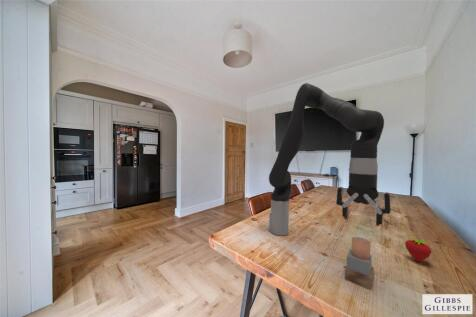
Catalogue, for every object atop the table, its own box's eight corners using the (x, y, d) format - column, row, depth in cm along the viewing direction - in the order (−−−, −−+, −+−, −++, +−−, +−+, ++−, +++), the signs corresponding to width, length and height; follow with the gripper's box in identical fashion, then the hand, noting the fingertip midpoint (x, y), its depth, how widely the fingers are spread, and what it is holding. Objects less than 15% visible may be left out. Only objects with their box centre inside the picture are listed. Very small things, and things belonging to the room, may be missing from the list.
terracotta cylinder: (356, 259, 56) (357, 243, 56) (348, 251, 61) (348, 236, 61) (373, 260, 55) (374, 244, 55) (363, 251, 60) (364, 237, 60)
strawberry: (411, 255, 73) (412, 230, 73) (435, 266, 65) (436, 239, 65) (400, 256, 71) (401, 232, 71) (423, 268, 64) (424, 241, 64)
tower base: (344, 280, 58) (344, 268, 58) (349, 270, 63) (349, 258, 63) (371, 291, 53) (371, 278, 53) (373, 279, 59) (373, 267, 58)
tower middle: (346, 268, 58) (346, 255, 58) (350, 260, 62) (350, 248, 62) (369, 276, 54) (369, 263, 54) (371, 267, 58) (371, 255, 58)
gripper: (392, 173, 55) (390, 224, 56) (340, 169, 65) (339, 213, 65) (391, 175, 50) (389, 231, 50) (335, 171, 59) (333, 219, 60)
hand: (361, 221), depth 58 cm, fingers open, 8 cm apart
